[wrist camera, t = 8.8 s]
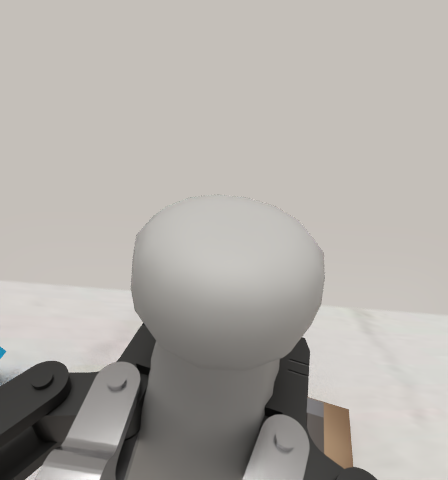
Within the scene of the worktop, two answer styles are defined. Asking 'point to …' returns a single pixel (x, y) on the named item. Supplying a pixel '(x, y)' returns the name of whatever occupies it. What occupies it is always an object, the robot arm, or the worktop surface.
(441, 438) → the worktop surface
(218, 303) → the salt shaker
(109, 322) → the worktop surface
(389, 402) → the worktop surface
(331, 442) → the socket board
